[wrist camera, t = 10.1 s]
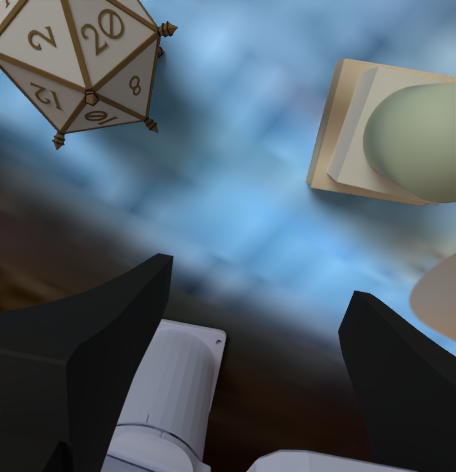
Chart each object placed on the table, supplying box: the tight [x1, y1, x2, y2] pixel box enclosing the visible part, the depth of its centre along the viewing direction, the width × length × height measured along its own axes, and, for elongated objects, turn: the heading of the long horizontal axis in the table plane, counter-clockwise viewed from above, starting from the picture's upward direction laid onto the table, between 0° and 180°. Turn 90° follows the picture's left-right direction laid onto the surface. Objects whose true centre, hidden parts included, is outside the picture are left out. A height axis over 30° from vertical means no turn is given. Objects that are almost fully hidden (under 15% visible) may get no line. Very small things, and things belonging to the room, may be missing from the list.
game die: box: [0, 0, 178, 150], centre depth 15 cm, size 9×8×10 cm
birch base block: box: [306, 58, 456, 206], centre depth 19 cm, size 7×7×2 cm
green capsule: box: [363, 82, 456, 203], centre depth 14 cm, size 4×4×4 cm
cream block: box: [327, 66, 446, 205], centre depth 17 cm, size 6×6×2 cm
